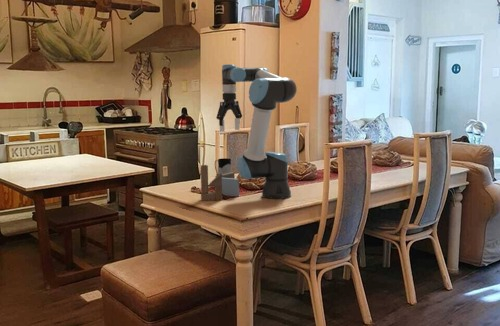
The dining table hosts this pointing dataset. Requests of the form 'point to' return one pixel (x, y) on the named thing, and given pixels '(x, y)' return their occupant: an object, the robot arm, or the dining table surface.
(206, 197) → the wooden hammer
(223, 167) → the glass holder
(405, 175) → the dining table surface
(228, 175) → the notched wooden plank
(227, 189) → the door
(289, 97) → the robot arm
